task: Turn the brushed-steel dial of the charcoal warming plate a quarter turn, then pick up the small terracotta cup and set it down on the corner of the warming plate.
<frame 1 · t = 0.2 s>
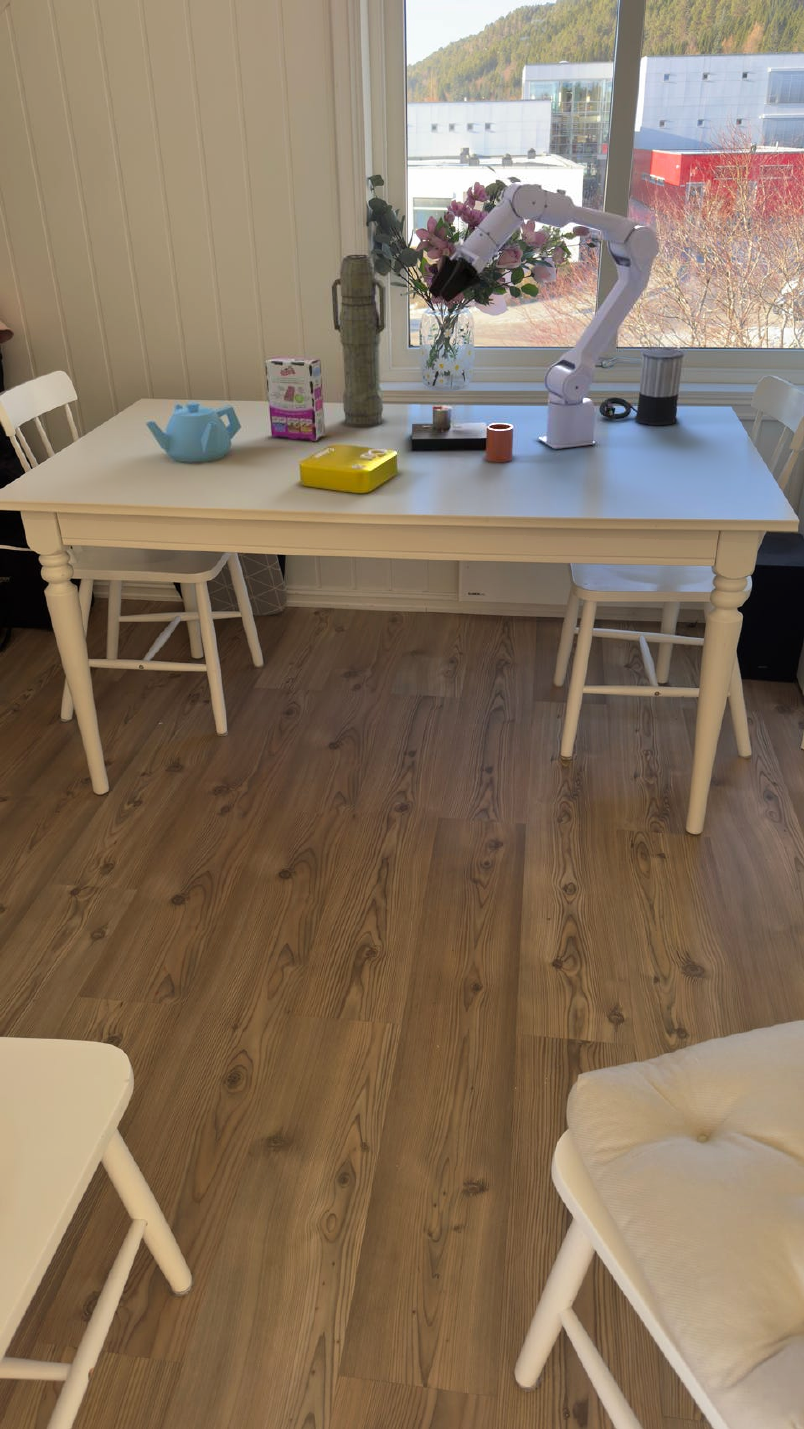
hand: (437, 296, 194), 31 cm above the table, tool tilted 45°, fingers open, 7 cm apart
dial: (442, 416, 219), point 5 cm above the table, hinge at 0.0°
teapot: (197, 455, 215), on the table
warming plate: (449, 442, 219), on the table
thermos: (364, 423, 235), on the table
cup: (498, 458, 208), on the table
element tile: (349, 480, 199), on the table
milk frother: (637, 420, 232), on the table
candy bar box: (298, 437, 225), on the table
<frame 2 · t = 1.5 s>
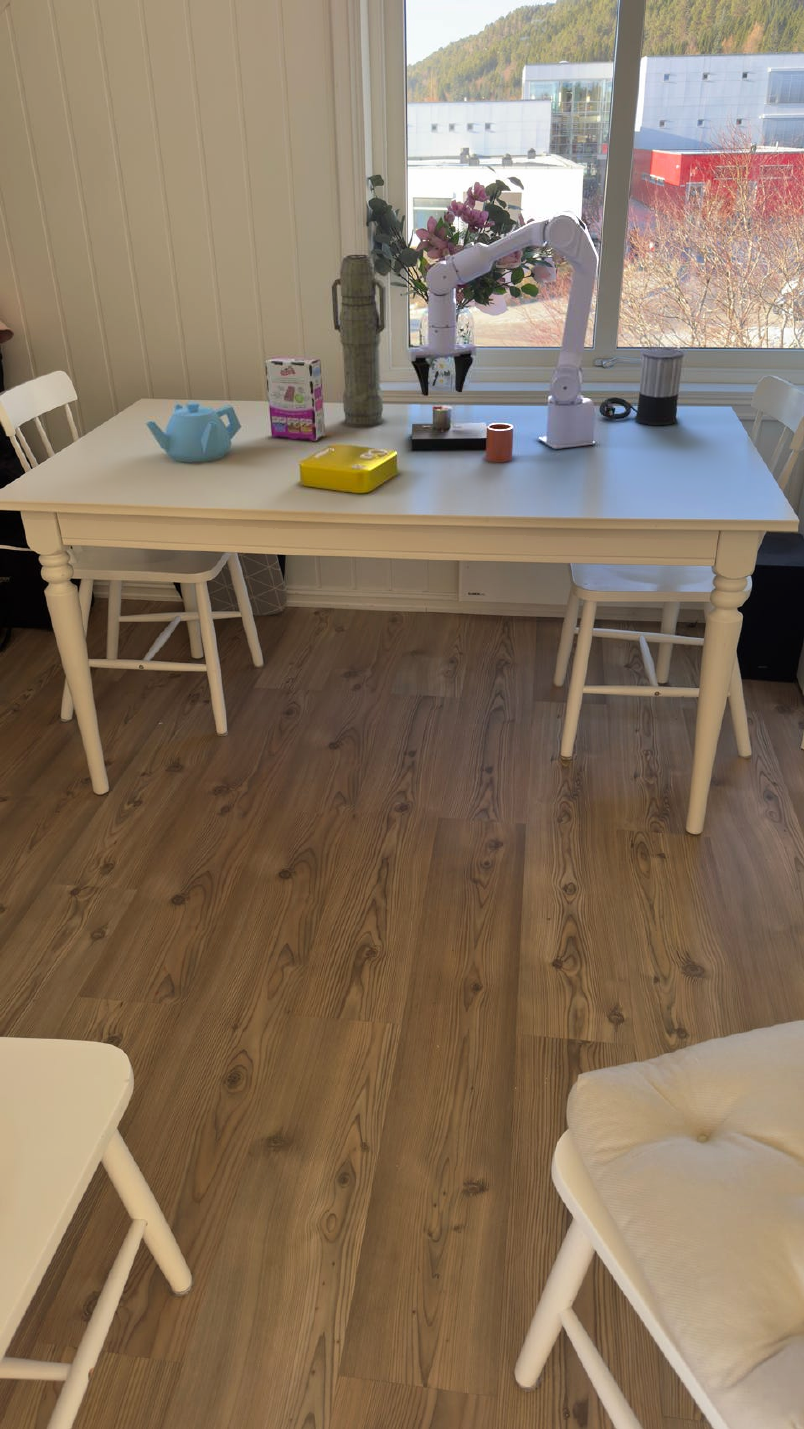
hand: (441, 393, 217), 10 cm above the table, tool pointing down, fingers open, 7 cm apart
nothing on the table moved.
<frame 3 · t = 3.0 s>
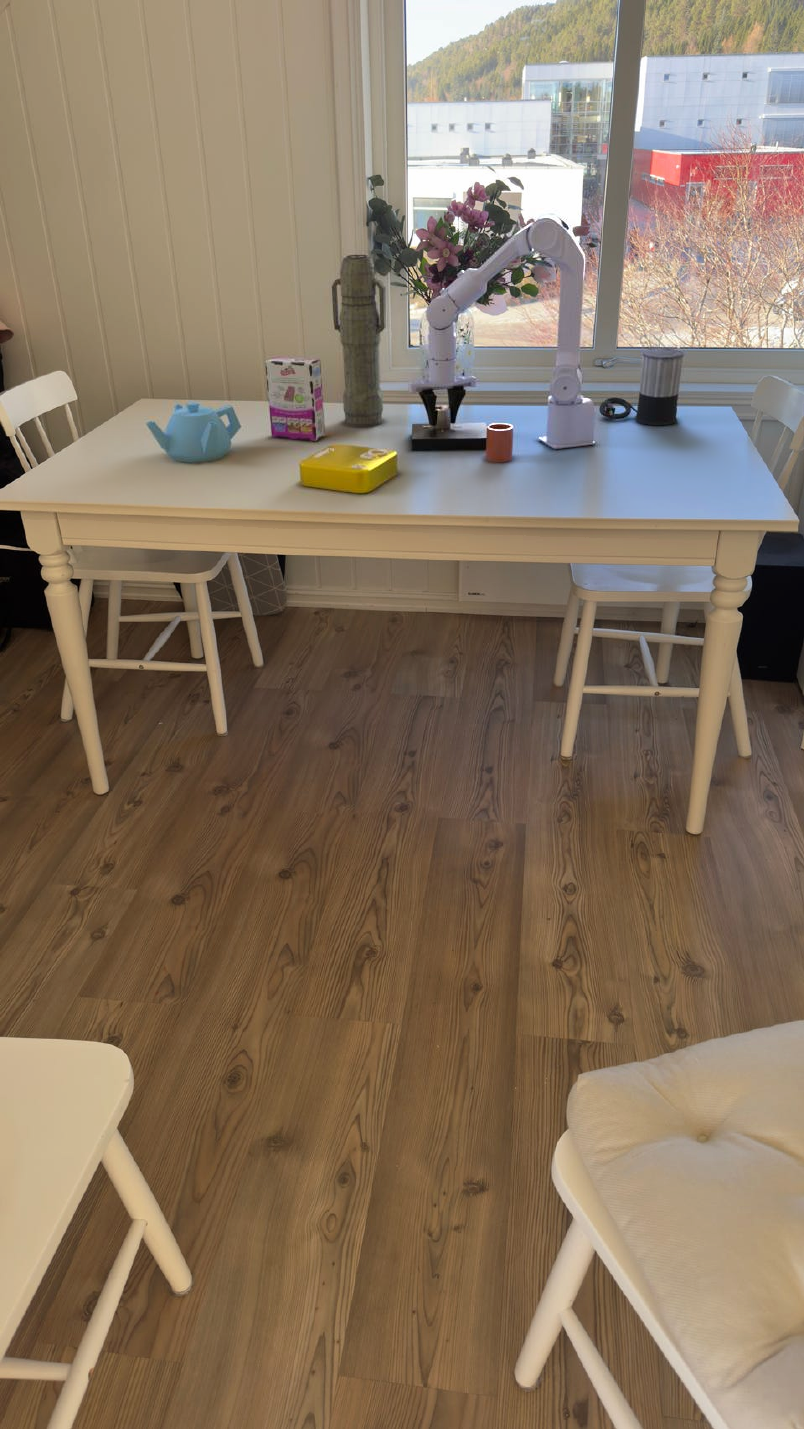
hand: (442, 423, 220), 3 cm above the table, tool pointing down, fingers closed on dial, 4 cm apart
dial: (442, 416, 219), point 5 cm above the table, hinge at -0.2°, touching gripper
everything else where it was.
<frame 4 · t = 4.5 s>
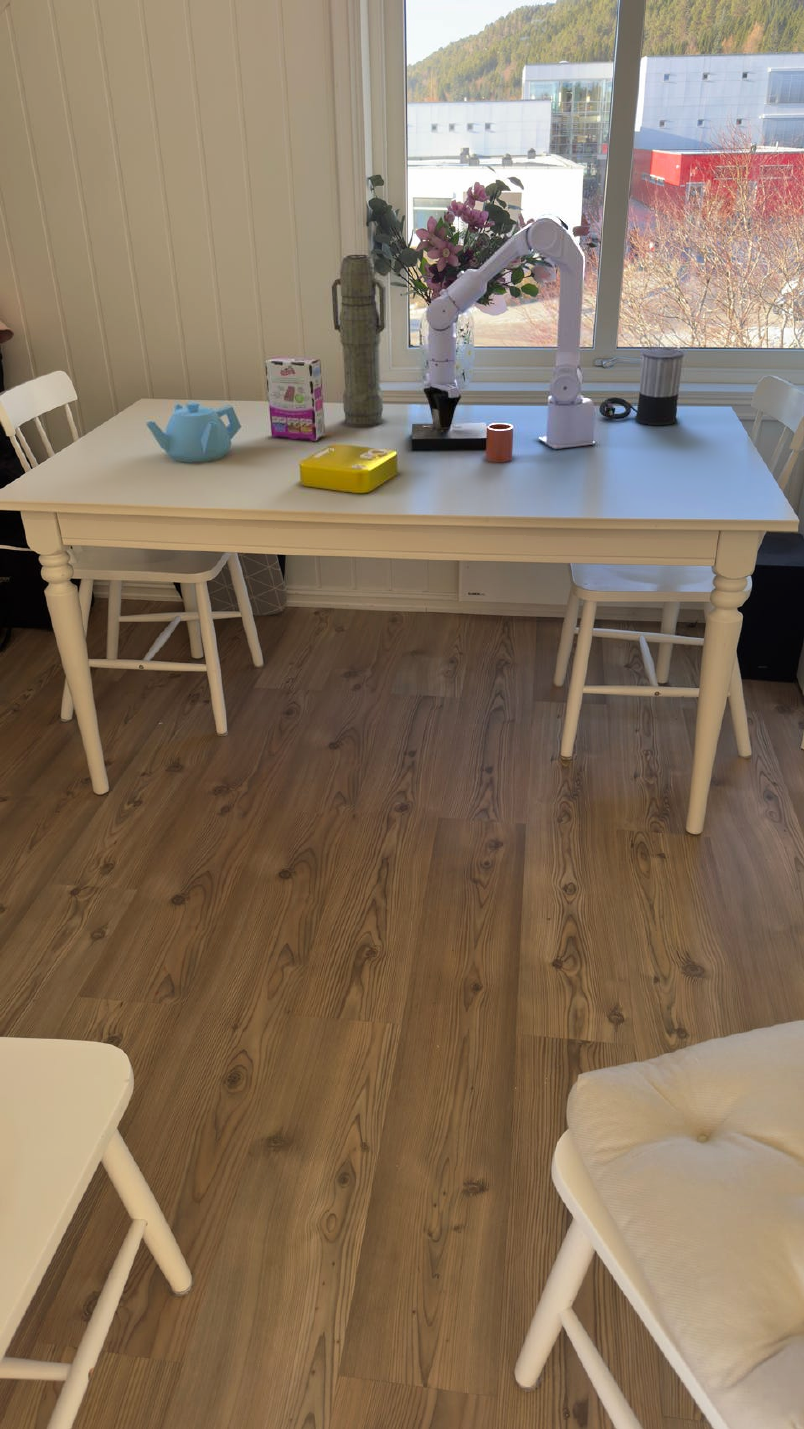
hand: (441, 424, 220), 3 cm above the table, tool pointing down, fingers closed on dial, 4 cm apart
dial: (442, 416, 219), point 5 cm above the table, hinge at 90.2°, touching gripper
everything else where it was.
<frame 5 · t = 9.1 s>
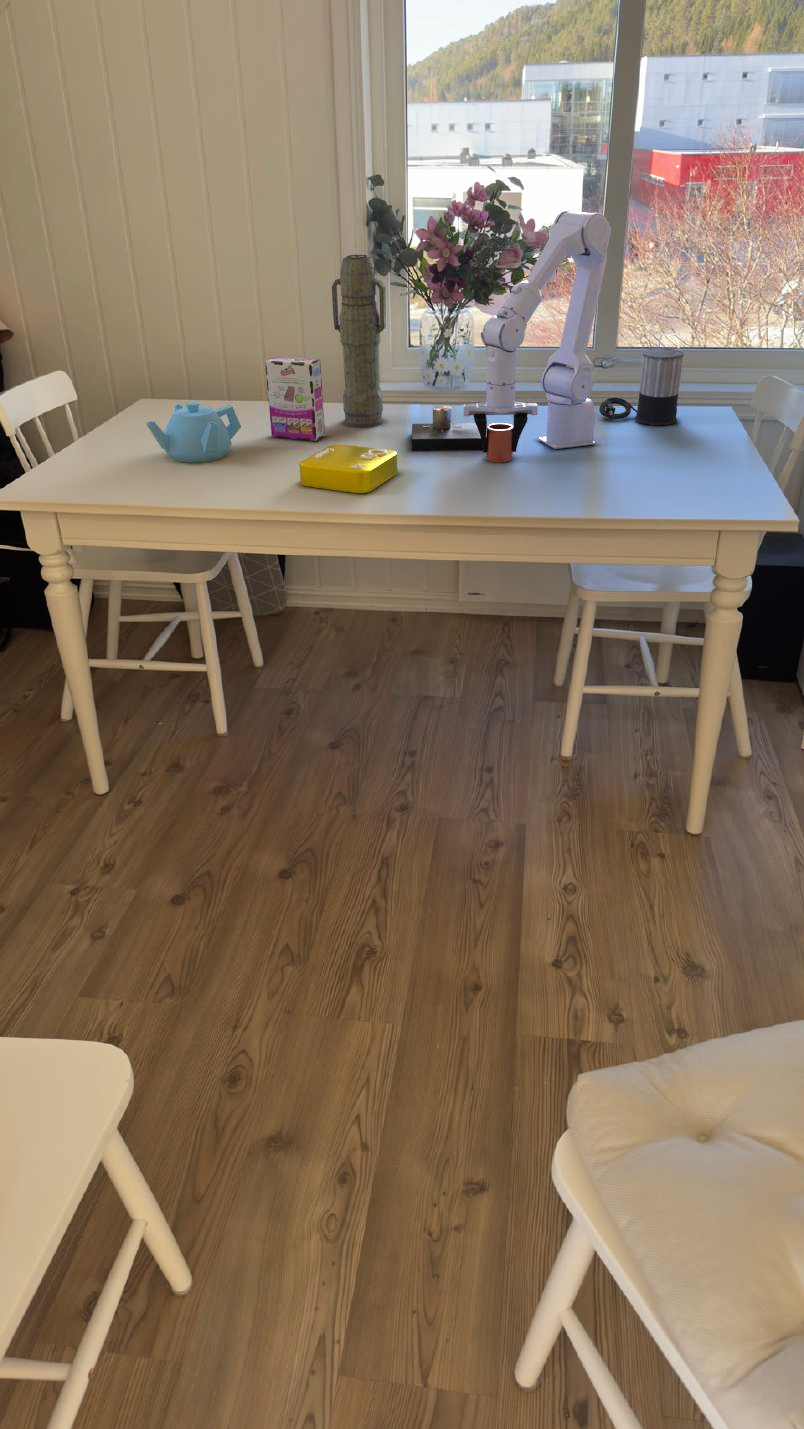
hand: (499, 450, 207), 2 cm above the table, tool pointing down, fingers closed on cup, 5 cm apart
dial: (442, 416, 219), point 5 cm above the table, hinge at 90.5°
cup: (499, 458, 208), on the table, touching gripper
everything else where it was.
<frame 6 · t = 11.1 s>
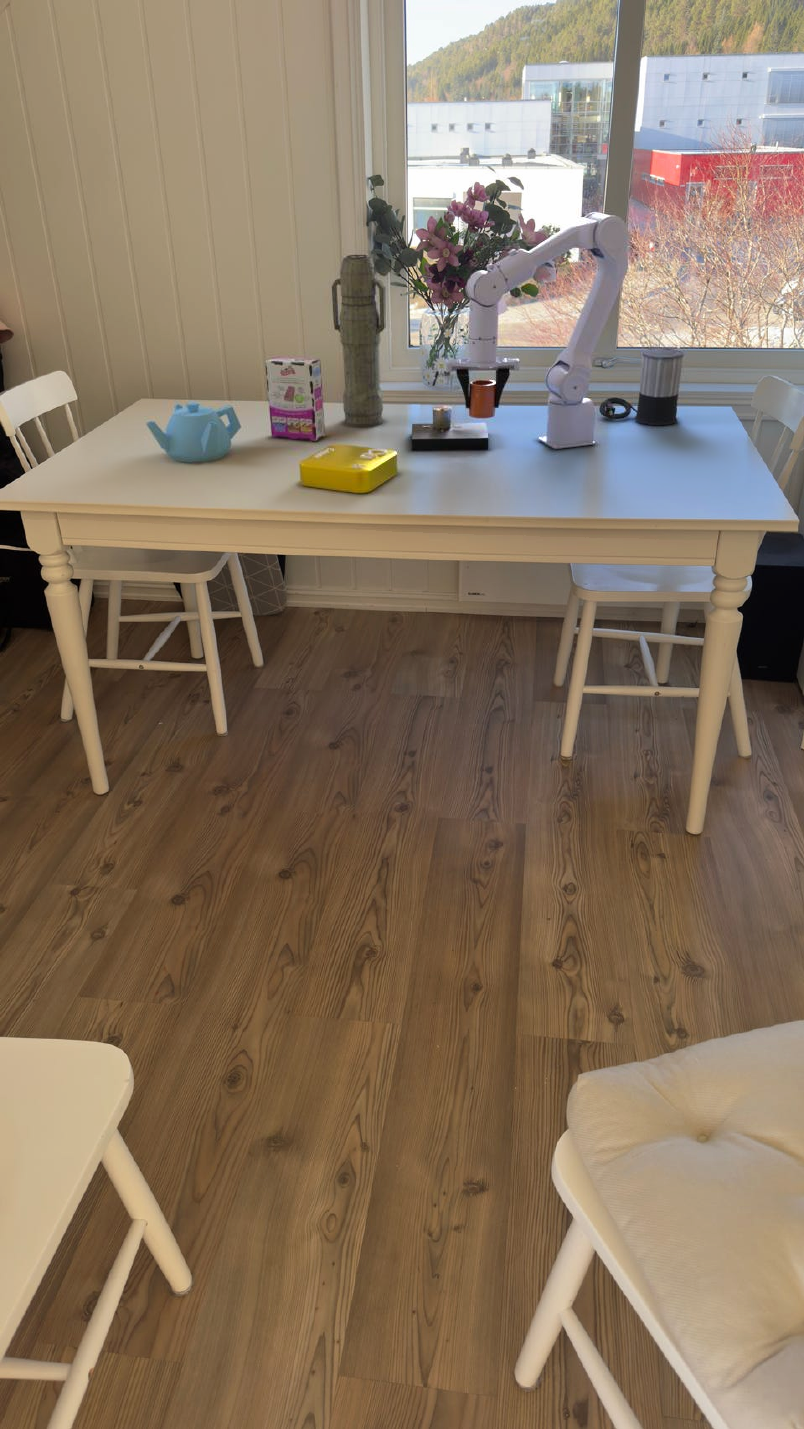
hand: (481, 407, 209), 9 cm above the table, tool pointing down, fingers closed on cup, 5 cm apart
cup: (481, 415, 210), point 7 cm above the table, touching gripper
everything else where it was.
when the fingers open (4 cm above the table, at t = 13.5 s): cup stays where it is, resting on warming plate.
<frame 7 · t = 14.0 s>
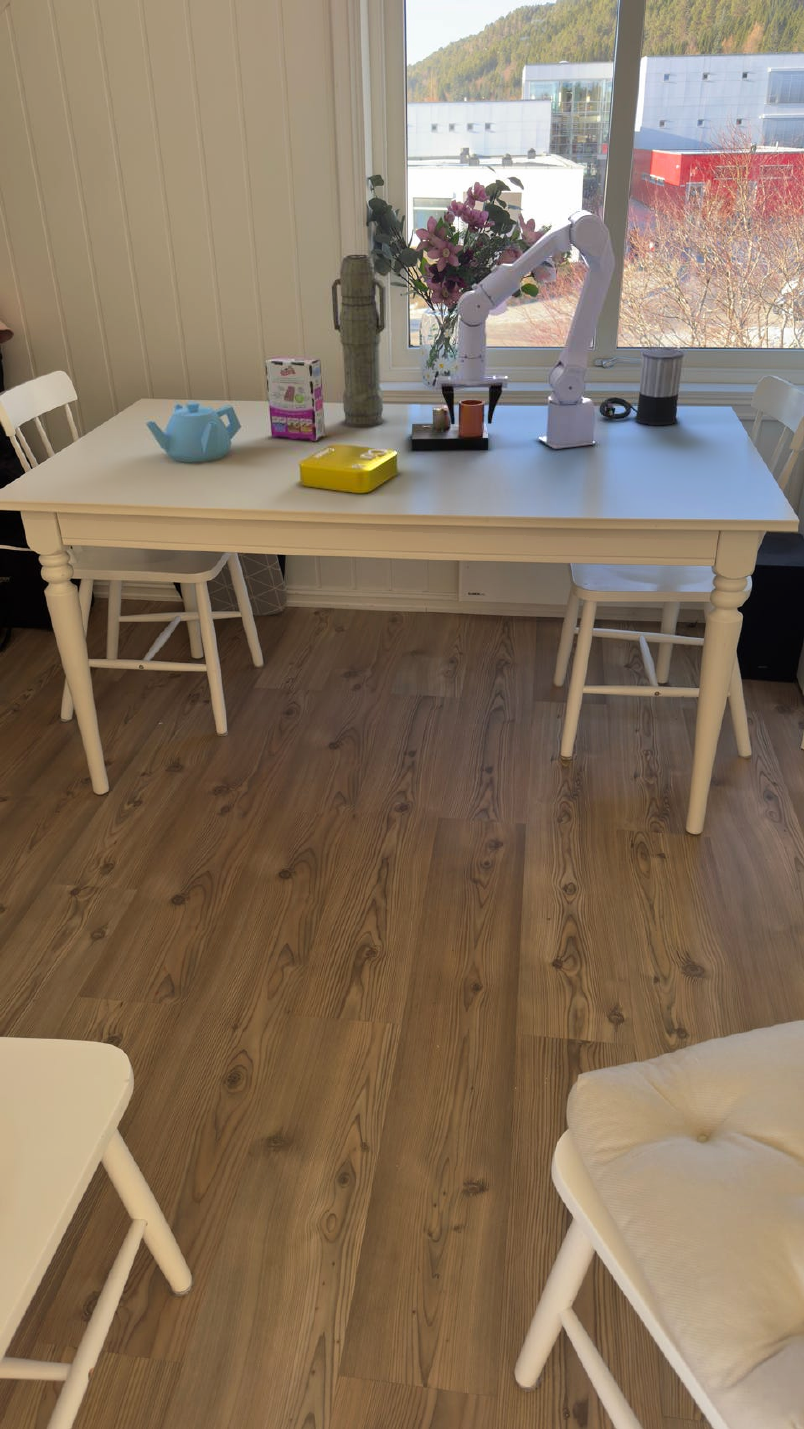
hand: (471, 422, 215), 5 cm above the table, tool pointing down, fingers open, 7 cm apart
cup: (471, 433, 216), point 2 cm above the table, touching warming plate
everything else where it was.
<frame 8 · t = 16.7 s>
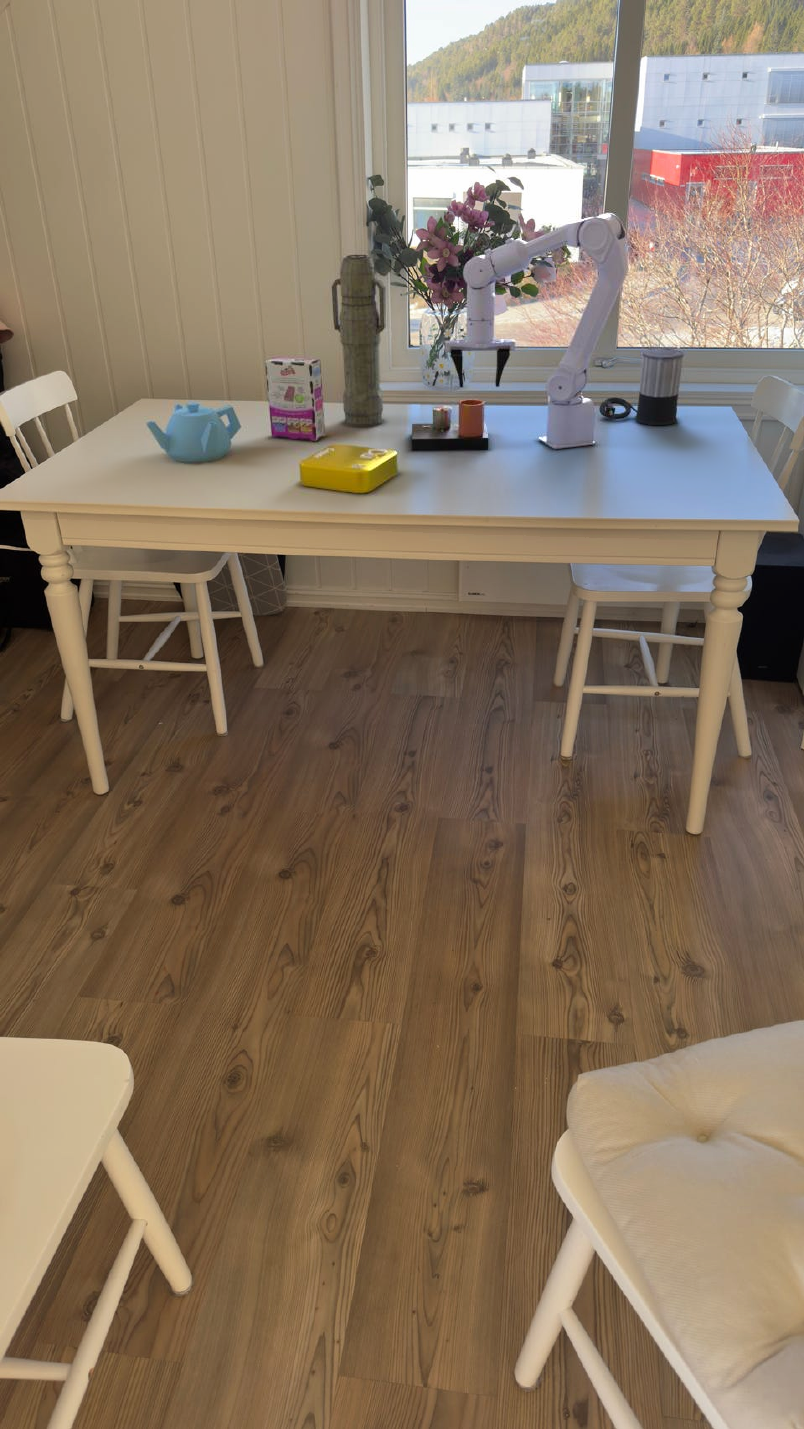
hand: (479, 386, 219), 10 cm above the table, tool pointing down, fingers open, 7 cm apart
nothing on the table moved.
at the end: dial at +90° (first picture: +0°); cup 0.0 cm from the target spot on the warming plate, point 2.5 cm above the warming plate's base; cup tilted 0° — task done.
